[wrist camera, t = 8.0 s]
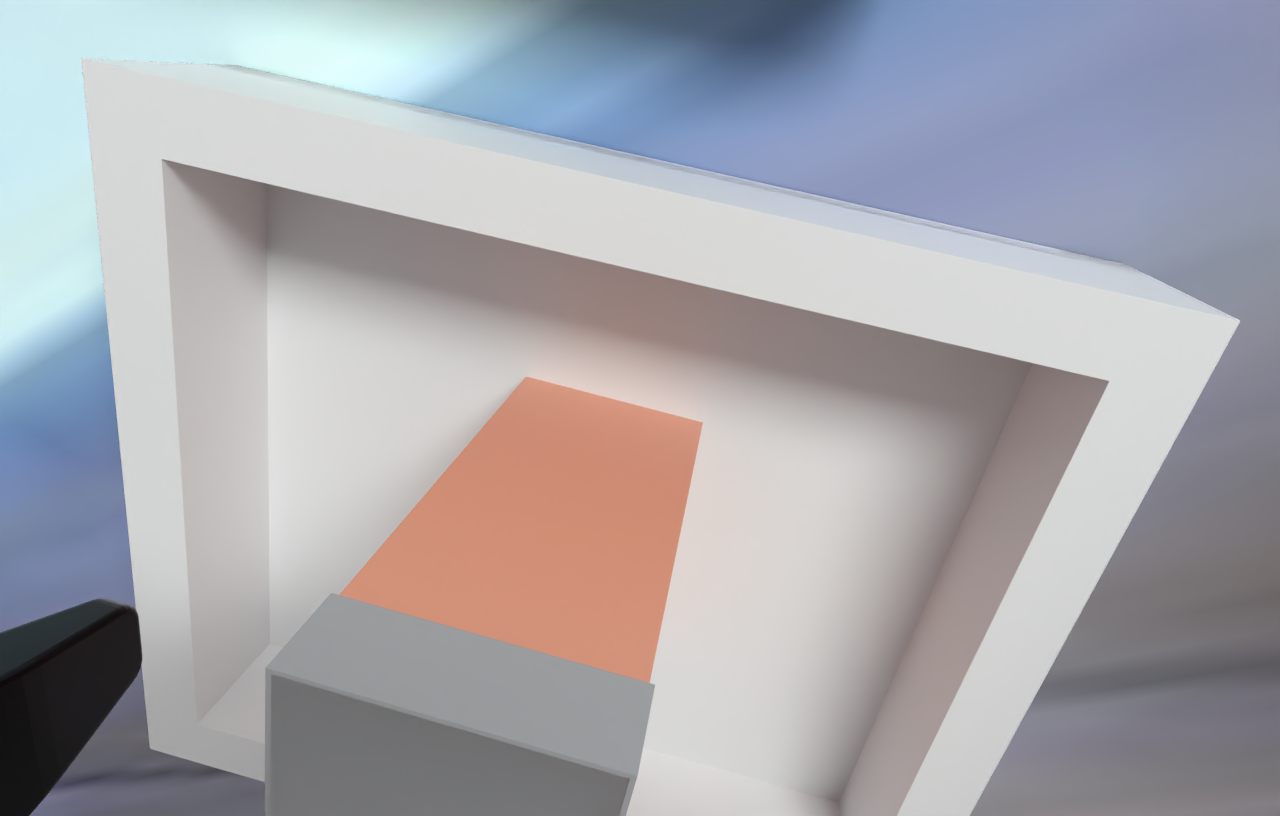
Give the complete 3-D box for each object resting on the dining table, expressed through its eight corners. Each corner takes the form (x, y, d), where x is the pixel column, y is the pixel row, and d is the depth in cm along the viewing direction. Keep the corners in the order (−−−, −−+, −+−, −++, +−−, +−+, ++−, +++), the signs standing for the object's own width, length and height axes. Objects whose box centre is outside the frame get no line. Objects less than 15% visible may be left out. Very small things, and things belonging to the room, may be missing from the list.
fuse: (706, 420, 12) (637, 777, 6) (646, 638, 14) (545, 1085, 8) (523, 372, 12) (265, 667, 6) (488, 593, 14) (263, 995, 8)
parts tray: (1125, 264, 11) (1240, 320, 8) (868, 815, 16) (888, 964, 13) (237, 65, 12) (80, 57, 9) (250, 642, 17) (149, 748, 14)
